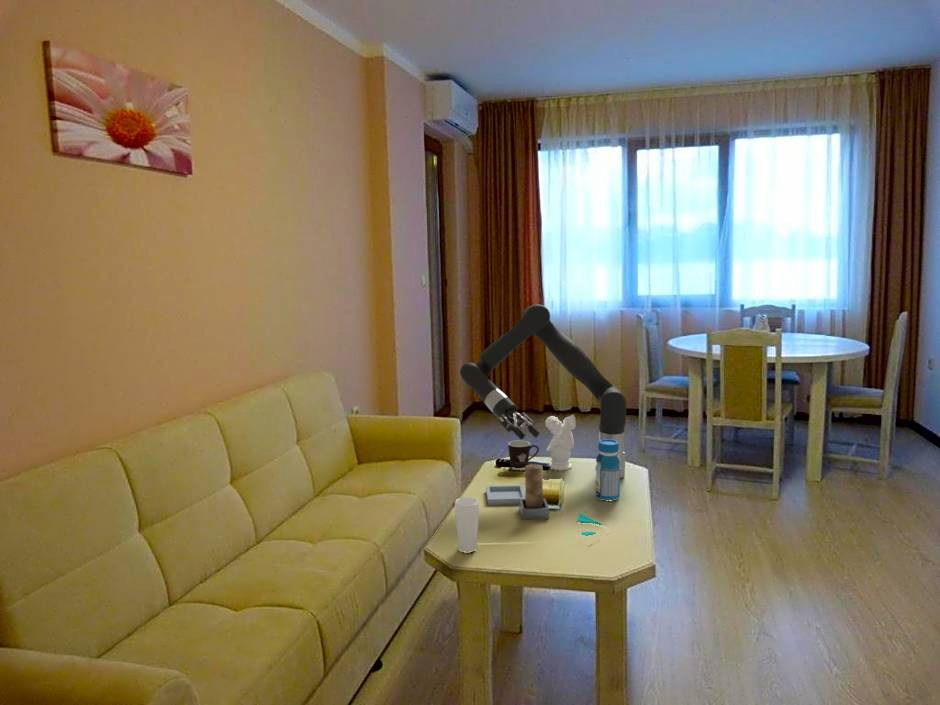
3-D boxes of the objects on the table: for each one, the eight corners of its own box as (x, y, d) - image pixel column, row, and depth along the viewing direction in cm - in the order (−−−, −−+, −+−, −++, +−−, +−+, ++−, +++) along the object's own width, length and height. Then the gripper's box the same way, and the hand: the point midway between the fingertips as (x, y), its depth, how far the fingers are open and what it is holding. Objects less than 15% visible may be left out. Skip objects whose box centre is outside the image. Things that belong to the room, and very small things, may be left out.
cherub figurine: (542, 468, 272) (541, 413, 269) (557, 459, 282) (557, 406, 279) (570, 473, 265) (570, 417, 262) (585, 464, 275) (585, 410, 272)
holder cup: (545, 510, 230) (545, 498, 230) (549, 520, 222) (549, 508, 221) (519, 510, 230) (519, 499, 230) (522, 521, 222) (522, 509, 221)
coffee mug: (506, 471, 268) (506, 446, 267) (509, 464, 277) (509, 439, 275) (537, 472, 266) (537, 447, 265) (538, 465, 275) (539, 441, 273)
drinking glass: (459, 557, 198) (458, 506, 195) (453, 547, 204) (452, 498, 202) (482, 553, 200) (481, 503, 197) (475, 543, 206) (474, 495, 204)
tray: (522, 491, 247) (522, 484, 247) (526, 505, 234) (526, 498, 234) (486, 492, 247) (486, 485, 247) (487, 506, 234) (487, 499, 234)
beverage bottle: (609, 504, 235) (610, 447, 231) (589, 497, 241) (590, 441, 238) (625, 498, 240) (626, 442, 236) (605, 491, 246) (606, 436, 243)
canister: (541, 510, 229) (541, 463, 226) (543, 517, 223) (543, 469, 221) (524, 511, 229) (524, 464, 226) (526, 517, 223) (526, 469, 220)
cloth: (606, 552, 201) (606, 544, 201) (559, 545, 206) (559, 538, 205) (618, 517, 225) (618, 511, 225) (575, 512, 230) (575, 506, 229)
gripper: (493, 397, 236) (524, 429, 228) (517, 396, 247) (548, 426, 239) (482, 414, 239) (512, 446, 230) (506, 412, 250) (536, 442, 242)
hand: (530, 436), depth 235 cm, fingers open, 8 cm apart
